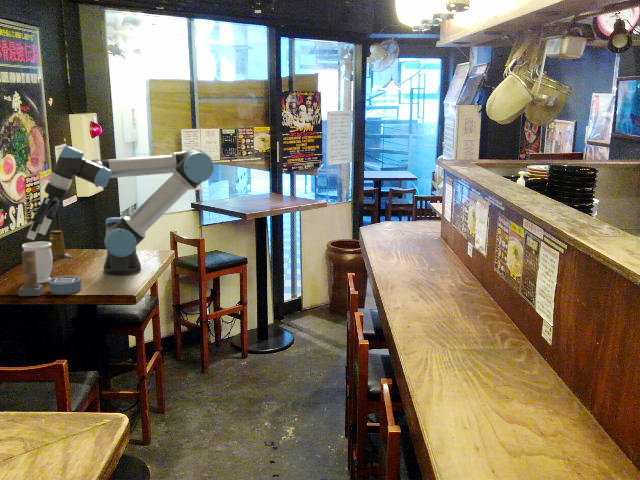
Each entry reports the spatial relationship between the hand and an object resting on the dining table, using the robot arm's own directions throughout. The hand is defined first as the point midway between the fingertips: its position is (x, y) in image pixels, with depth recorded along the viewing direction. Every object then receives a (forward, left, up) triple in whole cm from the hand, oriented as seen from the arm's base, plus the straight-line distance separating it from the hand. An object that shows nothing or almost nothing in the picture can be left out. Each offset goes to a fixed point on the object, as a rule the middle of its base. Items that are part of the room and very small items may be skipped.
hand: (36, 236), depth 230 cm
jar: (+1, -4, -19) cm, 20 cm away
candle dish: (-11, +9, -19) cm, 24 cm away
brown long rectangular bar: (0, +12, -19) cm, 23 cm away
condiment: (+3, -42, -19) cm, 47 cm away
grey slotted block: (0, +12, -19) cm, 23 cm away
